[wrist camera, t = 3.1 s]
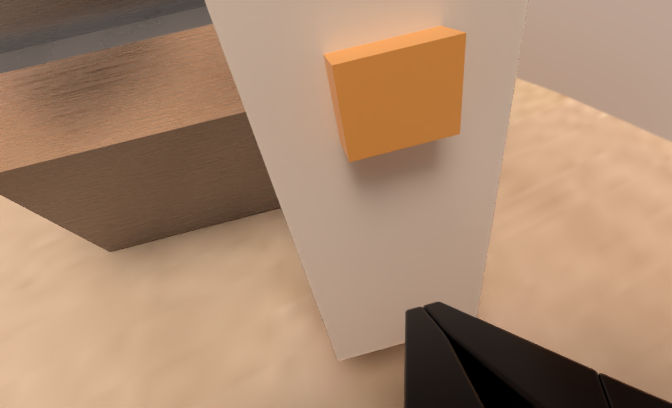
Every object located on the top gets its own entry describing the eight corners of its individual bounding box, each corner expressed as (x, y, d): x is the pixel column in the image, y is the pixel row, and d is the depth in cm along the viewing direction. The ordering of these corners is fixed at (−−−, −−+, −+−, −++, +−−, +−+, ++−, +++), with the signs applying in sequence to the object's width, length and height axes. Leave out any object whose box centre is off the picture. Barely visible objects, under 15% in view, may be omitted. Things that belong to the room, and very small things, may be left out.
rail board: (420, 186, 18) (578, -469, 4) (107, 268, 17) (-913, -197, 4) (387, 114, 21) (415, -400, 7) (119, 181, 20) (-401, -246, 7)
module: (488, 344, 10) (595, -127, 4) (342, 385, 10) (179, -33, 4) (428, 245, 14) (427, -76, 8) (321, 273, 14) (223, -29, 7)
